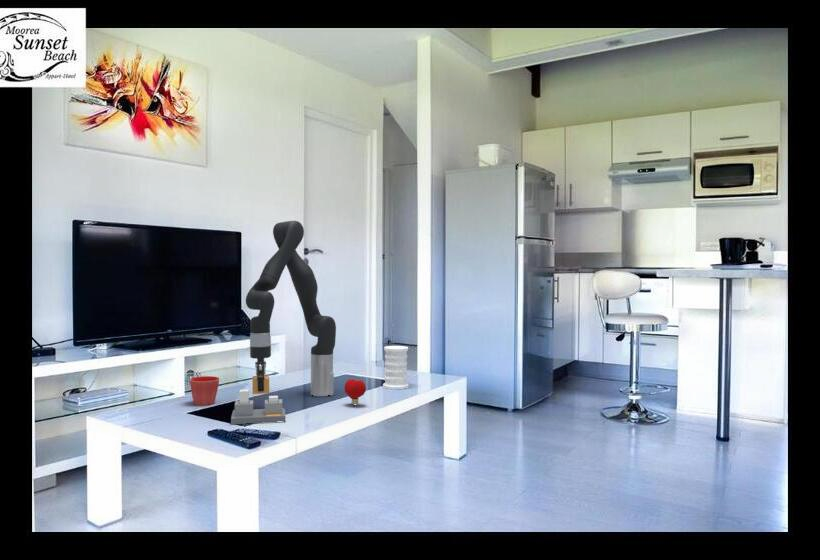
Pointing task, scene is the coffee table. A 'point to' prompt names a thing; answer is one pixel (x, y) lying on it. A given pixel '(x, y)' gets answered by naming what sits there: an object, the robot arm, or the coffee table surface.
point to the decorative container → (396, 367)
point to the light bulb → (355, 389)
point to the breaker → (244, 396)
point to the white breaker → (273, 399)
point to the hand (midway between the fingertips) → (260, 389)
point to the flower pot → (204, 389)
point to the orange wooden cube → (255, 385)
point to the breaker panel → (258, 413)
